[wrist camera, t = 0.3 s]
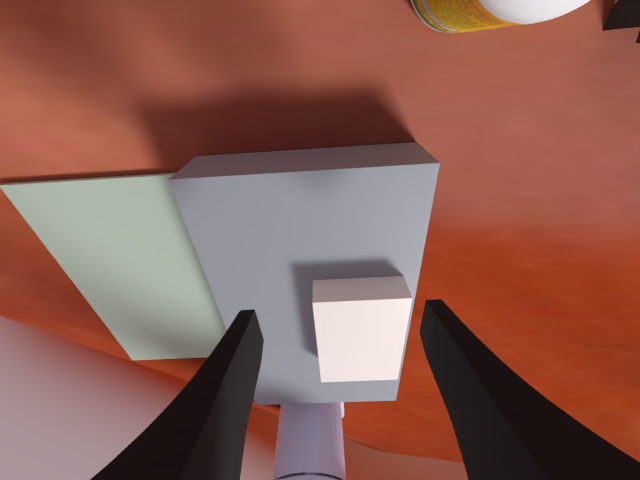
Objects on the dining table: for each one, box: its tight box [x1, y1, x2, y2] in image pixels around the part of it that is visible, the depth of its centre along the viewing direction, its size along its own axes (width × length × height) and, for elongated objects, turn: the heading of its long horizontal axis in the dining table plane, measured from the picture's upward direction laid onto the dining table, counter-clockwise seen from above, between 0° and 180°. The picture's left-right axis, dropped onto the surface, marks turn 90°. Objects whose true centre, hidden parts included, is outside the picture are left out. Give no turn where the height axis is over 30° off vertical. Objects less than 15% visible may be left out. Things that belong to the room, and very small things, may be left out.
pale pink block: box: [312, 276, 412, 382], centre depth 20 cm, size 9×6×2 cm, turn 4°
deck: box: [168, 142, 440, 405], centre depth 22 cm, size 24×14×4 cm, turn 4°
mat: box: [0, 173, 227, 360], centre depth 24 cm, size 20×13×1 cm, turn 4°
